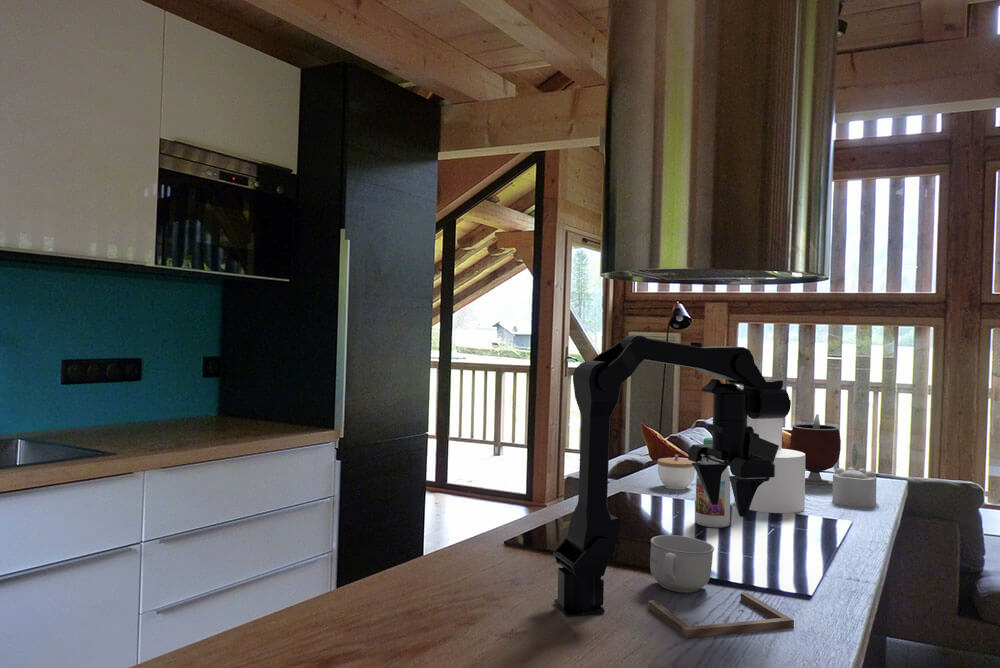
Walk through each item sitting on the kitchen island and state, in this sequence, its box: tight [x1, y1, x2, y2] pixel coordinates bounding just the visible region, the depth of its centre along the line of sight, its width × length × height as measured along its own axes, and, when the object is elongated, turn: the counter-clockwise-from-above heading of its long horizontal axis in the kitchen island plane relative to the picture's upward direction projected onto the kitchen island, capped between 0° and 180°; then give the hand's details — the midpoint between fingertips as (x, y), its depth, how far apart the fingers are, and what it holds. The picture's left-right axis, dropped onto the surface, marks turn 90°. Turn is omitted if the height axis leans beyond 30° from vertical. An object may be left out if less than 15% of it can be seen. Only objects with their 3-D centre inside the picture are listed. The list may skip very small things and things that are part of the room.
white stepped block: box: [733, 415, 806, 514], centre depth 203 cm, size 17×17×28 cm
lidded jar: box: [657, 454, 696, 491], centre depth 225 cm, size 11×11×9 cm
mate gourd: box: [789, 414, 842, 489], centre depth 233 cm, size 16×14×20 cm
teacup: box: [649, 534, 715, 594], centre depth 136 cm, size 14×11×8 cm
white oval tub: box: [832, 467, 877, 508], centre depth 209 cm, size 10×13×9 cm
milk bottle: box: [695, 437, 731, 529], centre depth 182 cm, size 8×8×20 cm
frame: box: [647, 592, 795, 639], centre depth 122 cm, size 18×13×1 cm
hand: (728, 510), depth 134 cm, fingers open, 9 cm apart
